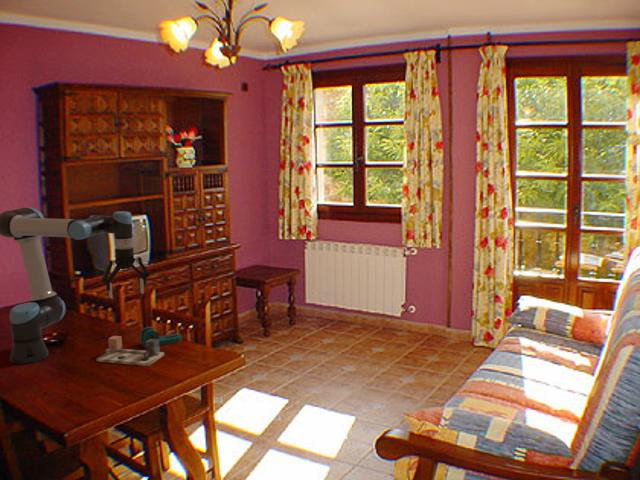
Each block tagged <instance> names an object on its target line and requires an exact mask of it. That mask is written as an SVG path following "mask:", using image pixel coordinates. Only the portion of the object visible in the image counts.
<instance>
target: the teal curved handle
mask: <svg viewBox="0 0 640 480" xmlns="http://www.w3.org/2000/svg"><path fill="white" fill-rule="evenodd" d="M149 339H159V347H160V346H164V345H171V344H176V343H180V342H182V340H183V338H182V334H180V333H173V334H171V333H170V334H167V335H161V336H160V334H159V333H158V332H157V330H155V329H154V328H153V327H151V326H146V327H144V328H143V329H141V331H140V344H141V346H142V347H143V348H144V349H146V341H148V340H149Z"/></svg>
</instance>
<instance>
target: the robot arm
mask: <svg viewBox="0 0 640 480" xmlns="http://www.w3.org/2000/svg"><path fill="white" fill-rule="evenodd" d="M132 219H133V218H132V213H131V212H130V211H126V210H123V211H114V212H113V214H112V215H100V214H96V215H89V217H88V218H86V219H84V218H83V219H71V218H65V219H64V218H45V217H44V214H43V213H42V212H41V211H40V210H38V209H37V208H34V207H21V208H17V209H11V210H6V211H3V212H1V213H0V236H2V237H4V238H7V239H8V238H9V239H10V238H11V239H12V238H13V240H14V242H16V243H17V244H18V245H19V249H20V253H21V256H22V260H23V265H24V268H25V273H26V277H27V281H28V285H29V290H30V294H31V296H30V298H29V299H28V300H29V302H24V303H20V304H18V305H15V306H13V307H12V308H11V309H10V311H9V322H10V331H11V339H12V345H11V350H10V354H9V361H10V363H12V364H16V365H17V364H18V365H19V364H20V365H22V364H32V363H36V362H39V361H42V360H45V359H46V358H47V357H48V356H49V349H48V348H47V346H46V343H45V341H44V339H43V335H42V333H43V332H42V330H43V329H44V328H47V327H49V326H52V325H54V324H57V323H58V322H59V321H61V320H62V319H63V318H64V316H65V314H66V304H65V302H64V300H63V299H62V298H61V297H60V296H58V293H57V292H56V291H53V289H52V285H51V280H50V276H49V272H48V267H47V264H46V260H45V256H44V250H43V247H42V243H41V238H42V237H53V238H55V237H57V238H72V239H74V240H77V241H79V240H85V239H87V238H91V237H94V236H98V235H102V234H113V236H114V248H115V249H114V255H115V259H114V260H113V259H108V260H107V266H106V268H105V270H104V273H103V275H102V277H101V281H100V282H102V283H104V284H105V288H106V291H107V292H108V297H109V298H110V299H113V298H114V297H113V284H112V281H113V279H114V278H115V277H116V275H117V274H118V273H119V272H120V271H121V270H122V271H123V270H126V269H127V270H129V269H132V270H133V271H134V272H135V273H136V274H138V276H139V277H141V278H139V288H140V289H139V290H140V291H139V292H140V293H141V295H143V294H145V286H146V285H147V283H146V279H147V278H149V277H151V275H150V273H149V271H148V270H147V268H146V266H145V265H144V263H143V261H142V257H141V256H137V257H135V256H134V255H135V254H134V253H135V252H134V239H133V238H134V235H133V220H132ZM135 262H136V263H138V266H139V268H140V269H141V270H142V272H143V273H142V272H141V271H140V270H139V269H138V267H136V266H135ZM114 264H115V267H114V269H113V271H112V268H113V266H114ZM111 271H112V272H111ZM110 272H111V273H110Z"/></svg>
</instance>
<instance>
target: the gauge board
mask: <svg viewBox="0 0 640 480" xmlns="http://www.w3.org/2000/svg"><path fill="white" fill-rule="evenodd" d="M164 356H165V352H164V351H162V352H161V351H160V346H159V339H149V340H148V341H146V348H145V350H140V349H127V348H120V349H118V350H110V351H108V356H106V352H104V354H102V355H100V356H98V357H97V358H96V362H99V363H110V364H111V363H112V364H120V365H122V364H123V365H132V366H133V365H134V366H144V367H149V366H151V365H152V364H154V363H155V362H157V361H158V360H160V359H161V358H162V357H164Z"/></svg>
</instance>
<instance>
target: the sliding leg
mask: <svg viewBox="0 0 640 480" xmlns="http://www.w3.org/2000/svg"><path fill="white" fill-rule="evenodd" d="M107 341H108V342H107V343H108V348H106V349H105V350H104V351H105V352H104V353H106V356H108V352H109V351H110V350H118V349H123V338H122V336H121V335H120V336H119V335H112V336H110V337H109V338H107Z"/></svg>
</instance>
